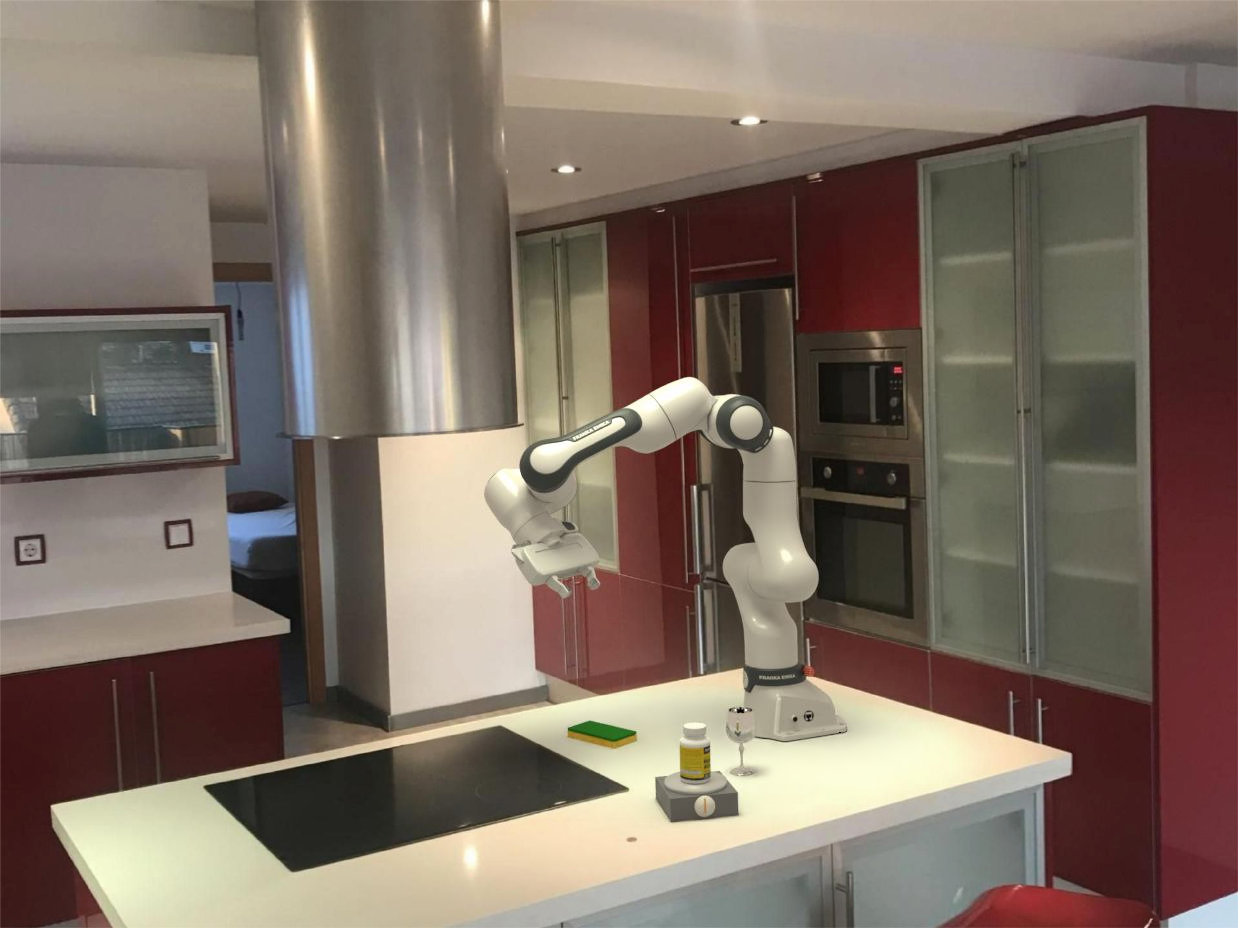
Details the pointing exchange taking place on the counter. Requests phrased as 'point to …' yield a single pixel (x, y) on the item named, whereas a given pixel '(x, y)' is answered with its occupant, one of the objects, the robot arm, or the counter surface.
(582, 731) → the dish sponge
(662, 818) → the counter surface
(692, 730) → the supplement bottle
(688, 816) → the kitchen scale
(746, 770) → the wineglass
